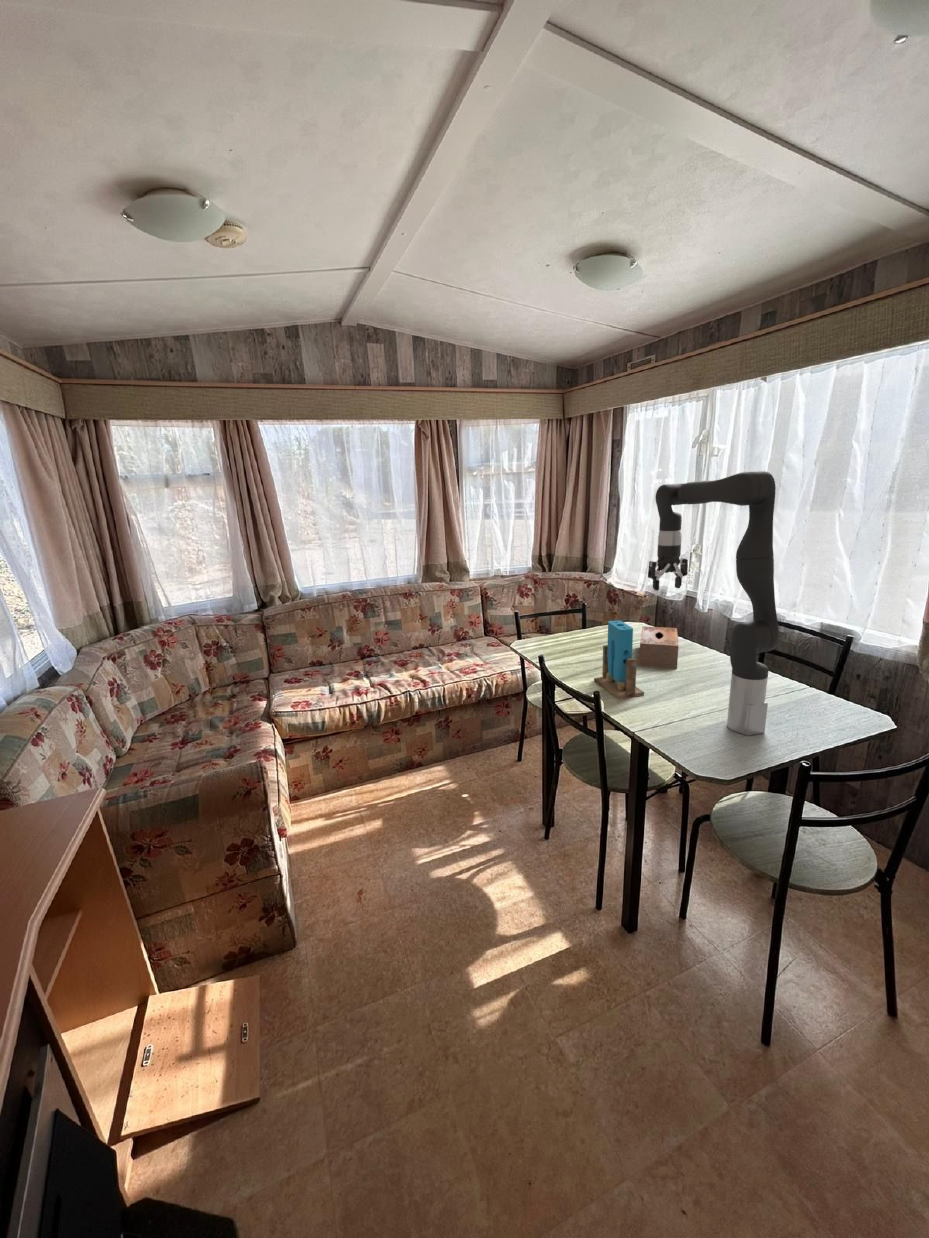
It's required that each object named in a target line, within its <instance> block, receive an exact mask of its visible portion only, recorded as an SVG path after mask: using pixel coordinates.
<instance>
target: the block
mask: <svg viewBox="0 0 929 1238" xmlns="http://www.w3.org/2000/svg"><path fill="white" fill-rule="evenodd" d="M633 637H634V627H631V626H630V625H629V624H627V623H625V621H622V620H608V622H607V645H608V649H607V658H608V672H609V675H610V676H611V677H612V676H613V679H614V680H615V681H616V682H623V681H626V659H630V658H633V643H634V640H633V639H634V638H633Z"/></svg>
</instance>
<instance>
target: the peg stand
mask: <svg viewBox="0 0 929 1238" xmlns="http://www.w3.org/2000/svg"><path fill="white" fill-rule="evenodd" d="M607 649H608V644H604V645H602V676H600V677H594V678H593V681H594V682H595V683H596V684H598V685H599V686H600V687H601V688H603V689H604V690H606V692H608V693H610V694H611V695H612V696H614V697H615V698H617V699H618V700H621V699H628V698H634V697H635V698H636V697H640V696H645V691H644V690H642V689H640V688H639V687H637V686H636V684H637V682H636V681H637V663H638V662H637V661H638V660H637V658H635V657H632V658H630V659H626V681H623V682H616V681H615V680H614V679H613V676H612V677H611V676H610V675H609V672H608V658H607Z"/></svg>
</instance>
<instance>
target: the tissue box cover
mask: <svg viewBox="0 0 929 1238" xmlns="http://www.w3.org/2000/svg"><path fill="white" fill-rule="evenodd" d="M640 635H641V636H640V644H639V657H638V658H639V660H638V661H639V663H638V666H639V667H649V668H651V667H652V668H663V669H664V668H665V669H674V670H675V669H676V670H677V669H678V662H679V661H678V659H679V635H678V628H677V627H665V626H664V627H660V626H659V627H657V626H642V629H641V634H640Z"/></svg>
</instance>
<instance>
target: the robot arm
mask: <svg viewBox="0 0 929 1238" xmlns="http://www.w3.org/2000/svg"><path fill="white" fill-rule="evenodd" d="M776 491H777V490H776V481H775V478H774V476H773V474H772V473H770V472H768V471H767V470H756V471H755V470H754V471H753V470H751V471H742V472H739V473H735V474H733V475H729V476H726V477H724V478H723V477H722V478H720V479H716V480H698V481H696V480H695V481H689V482H686V483H670V484H669V483H667V484H662V485H660V486H659V487H658V488H657V490H656V492H655V504H656V507H657V508H656V509H657V512H658V516H659V528H658V529H659V530H658V536H657V553H656V555H657V561H653V560H652V561H651V560H649V562H648V572H647V578H648V579H652V589H653V590H654V591H655V592H656V591H657V592H658V591H659V590H660V579H661V577H662V576H663V575H664V574H668V573H673V575H675V578H674V588H675V589H680V588H681V587H682V583H683V582H682V581H683V577H687V576H688V575H689V574H688V573H689V570H688V569H689V568H688V562H689V560H688V559H687V558H680V557H681V554H682V553H681V551H682V537H683V536H682V522H683V520H682V519H683V517H682V514H681V513H679V512H676V511H674V510H673V506H679V505H682V506H683V505H702V504H708V503H713V502H715V503H724V504H731V505H735V506H741V507H742V506H743V507H745V506H748V510H749V511H748V515H749V516H748V517H749V518H748V524H747V528H746V531H745V532H744V535H743V536H742V538H741V540H740V543H739V545H738V547H737V550H736V554H735V566H736V567H735V568H736V569H735V570H736V577H737V580H738V581H739V582H738V583H739V584H740V585H741V588H743V590H744V592H745V593H746V594H747V596H748V598H749V601H750V602H751V603H750V604H751V606H752V616H753V617H752V618H753V619H752V621H744V622H739V623H737V624H735V625H734V627H733V628H732V630H731V634H730V635H731V636H730V651H729V652H730V654H729V658H730V659H729V661H730V665H731V677H730V689H729V700H728V708H727V721H726V726H727V727H728V729H730V730H731V731H732V732H736V733H738V734H743V735H745V736H754V735H759V734H764V733H765V731H766V724H767V714H768V705H769V704H768V702H766V697H767V685H768V679H769V667H768V666H767V665H766V664H764V663H762V662H759V661H757V654H758V653H765V652H767V653H768V652H771V651H773V650H775V649H776V647H778V644H779V641H780V640H779V639H780V627H779V621H778V615H777V607H776V598H775V579H774V578H775V577H774V576H775V574H774V573H775V563H774V562H775V560H774V513H775V502H776ZM679 565H680V567H679Z"/></svg>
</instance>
